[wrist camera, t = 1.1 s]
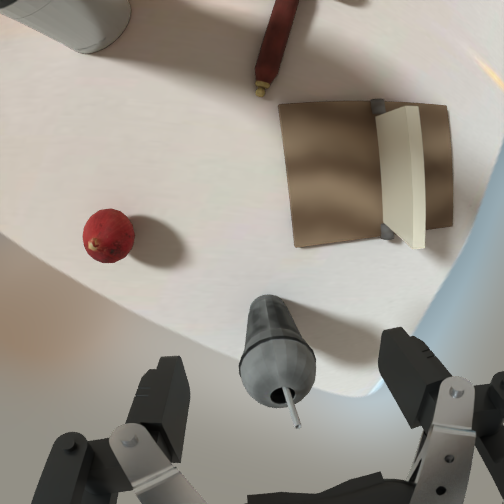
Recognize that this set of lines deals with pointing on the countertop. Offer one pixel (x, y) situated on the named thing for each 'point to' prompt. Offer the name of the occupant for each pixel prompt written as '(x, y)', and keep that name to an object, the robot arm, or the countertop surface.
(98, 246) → the onion
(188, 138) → the countertop surface
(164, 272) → the countertop surface
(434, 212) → the walnut board
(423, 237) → the tile
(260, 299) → the beverage cup
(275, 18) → the gavel
